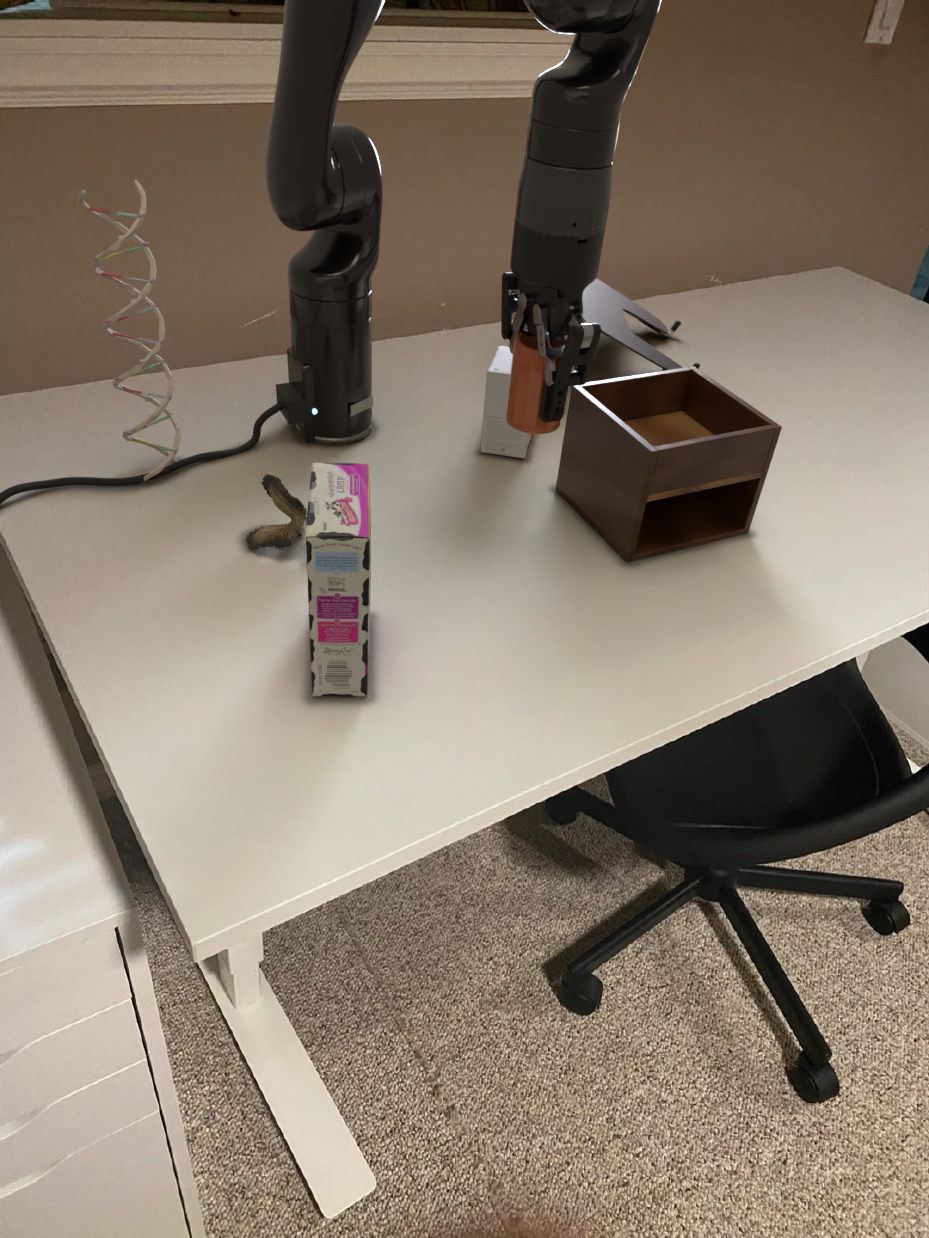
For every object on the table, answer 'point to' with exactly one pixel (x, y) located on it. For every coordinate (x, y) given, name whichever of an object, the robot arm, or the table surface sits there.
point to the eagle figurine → (285, 532)
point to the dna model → (134, 303)
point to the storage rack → (664, 460)
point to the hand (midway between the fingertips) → (535, 404)
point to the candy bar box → (339, 578)
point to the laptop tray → (608, 312)
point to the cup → (528, 386)
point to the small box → (500, 411)
